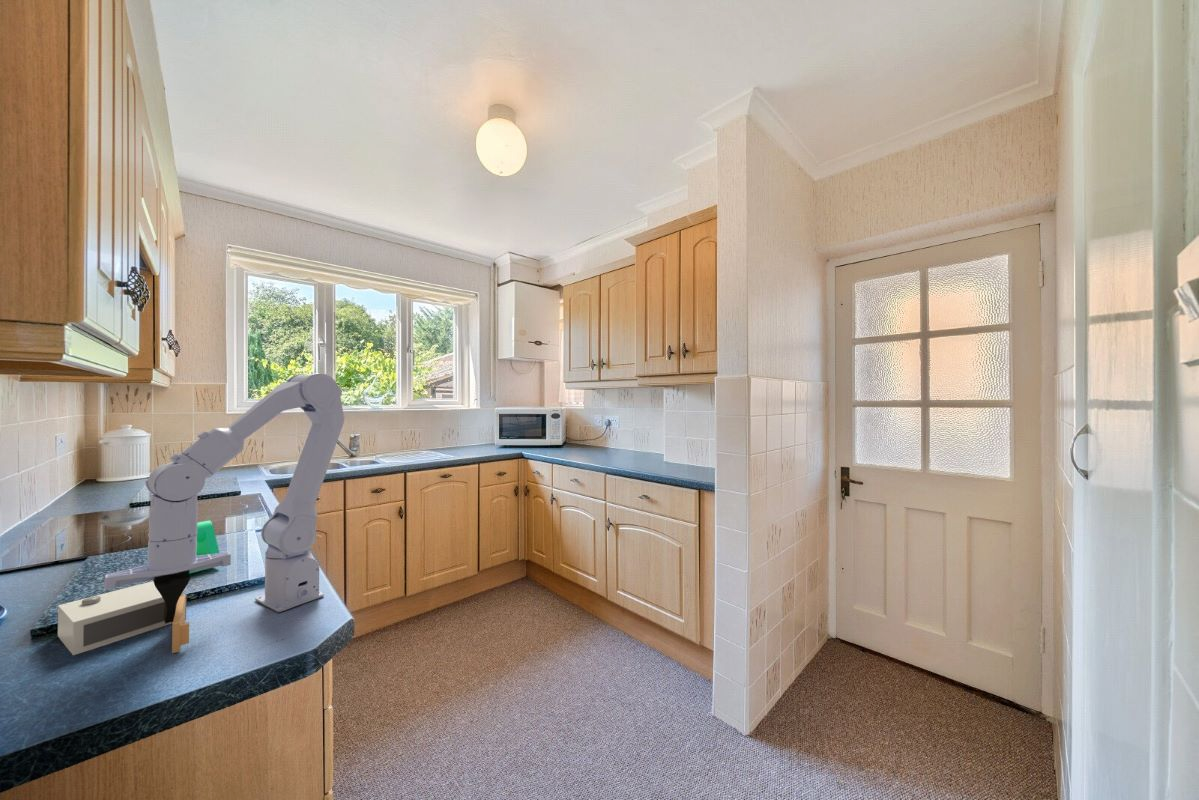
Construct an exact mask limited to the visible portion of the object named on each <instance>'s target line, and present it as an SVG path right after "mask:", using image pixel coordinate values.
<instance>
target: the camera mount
mask: <svg viewBox="0 0 1199 800" xmlns="http://www.w3.org/2000/svg"><path fill="white" fill-rule="evenodd" d="M217 553H220V549H219V545H218V541H217V537H216V534H215V528H214V525H213V523H212V521H211V520H205V521H204V520H203V521H200V522H199V521H197V550H196V556H199V555H208V554H217ZM205 570H206V569H203V570H198V571H193V572H189V574H193V573H197V572H200V571H205Z"/></svg>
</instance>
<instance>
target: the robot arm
mask: <svg viewBox="0 0 1199 800" xmlns="http://www.w3.org/2000/svg"><path fill="white" fill-rule="evenodd" d="M342 393H343V390H342V388H341V387H340V386H339V385H338V383H337V381H336V380H335V379H334V378H333V377H332V376H330V375H328V374H326V373H321V372H319V373H313V374H305V373H298V374H295V375H292V376H291V377H290V378H288V379H287V380H286V381H284V382H282V383H280V384H278V385H277V386H276V387H274V388H273V389H272V390H271V391H270V392H268V393H267V394H266V395H265V396H263V397H262V399H261V398H260V400H259V401H258V402H257V403H255V404H254V405H252V406H251V408H249V409H248V410H247V411H245V412H244V413H243V414H242V415H241V416H240V417H238V418H237V419H236V420H235V421H233V422H232V423H231V424H230V425H229V426H228V427H214V428H212V429H211V430H210V431H207V430H203V431H201V432H200V433H199V434H197V438H199V439H197V440H196V441H195V442H193V443H191V445H190V446H188V447H187V448H185V450H183V451H182V452H180V453H179V454H178V453H174V454H172V455H171V456H170V457H169V459H170V460H171V461H172V462H168V463H164V464H161V465H159V466H157V467H155V469H154V470H152V471H151V473H150V474H149V477H148V478H147V480H146V481H145V487H146V488H147V490H148V492H149V493H151V494H152V495H151V496H150V498H151V499H150V503H149V504H150V510H149V515H148V539H147V540H148V541H147V564H143V565H140V566H136V567H132V568H129V569H125V570H124V569H123V570H120V571H115V572H111V573H106V574H105V575H104V591H105V592H106V591H110V590H113V589H116V588H118V587H122V586H127V585H128V586H129V585H132V584H133V585H134V584H139V583H142V582H149V581H151V580H152V581H153V582H154V585H155V587H156V589H157V590H158V591H159V593H160V594H161V596H162V598H163V599H164V601H165V609H164V621H165V623H169V622H173V620H174V616H175V611H176V604H177V602H178V600H179V598H180V596H181V594H183V592H184V591H185V589H186V588H187V586H188V584H189V582H190V580H191V575H190V573H189V572H193V571H197V572H199V571H198V570H201V571H204V570H203V569H205V570H209V569H211V568H216V567H227V566H228V567H229V566H231V564H232V563H231V562H232V561H231V557H232V554H231V553H230V551H224V552H219V553H217V554H208V555H199V556H196V550H197V523H198V520H199V519H198V516H199V515H198V514H199V506H198V494H200V493H201V491H203V489H204V487H205V483H206V479H208V478H211V477H212V476H213V475H214V474H215V475H216V473H217V472H218V471H220V469H223V467H224V466H226V465H227V464H228V463H229V462H230V461H232V460H233V459H234V458H236V457H237V456H238V455H239V454H241V452H243V450H244V444H245V440H246V439H247V438H249V437H250V436H251V435H253V434H254V433H255V432H257V431H258V430H259V429H260V428H262V427H264V426H265V425H266V424H268V423H269V422H270V421H272V420H273V419H274V418H275V417H277V416H279V414H281V413H283V412H284V411H288V410H294V409H301V410H302V411H303V412H304V413H305V415H306V416H307V418H308V419H309V420H310V422H311V427H310V429H309V431H308V434H307V437H306V439H305V443H304V445H303V448H302V450H301V454H300V456H299V458H298V461H297V463H296V464H297V465H296V466H295V469H294V472H293V475H292V477H291V480H290V483H289V486H288V488H287V490H286V493H285V497H284V499H283V500H282V501H281V502H280V503H279V504H278V505H276V507H275V508H274V511H273V514H272V515H271V516H270V518H268V519H267V520H266V522H265V523H264V524H263V526H262V528H261V531H260V533H261V534H260V536H261V539H262V541H263V542H264V543H266V545H267V548H266V551H265V555H264V556H265V559H264V560H265V562H264V564H265V566H264V594H262V595H259V596H255V598H254V601H256V602H258V603H259V604H262V605H264V606H266V607H268V608H270V609H271V610H272V611H274V612H277V613H281V612H284V611H287V610H289V609H292V608H294V607H298V606H300V605H303V604H305V603H309V602H311V601H314V600H317V599H319V598H322V597H324V596H325V593H324V592H322V591H320V565H319V563H318V561H317V560H316V559H315V558H314V557H313V556H312V546H313V545H314V543H315V541H316V539H317V529H316V524H317V520H318V518H319V517H318V512H317V507H316V503H317V499H318V496H319V494H320V491H321V489H322V485H323V483H324V480H325V477H326V474H327V471H328V469H329V465H330V464H331V460H332V457H333V454H334V452H335V449H336V446H337V443H338V440H339V438H340V435H341V431H342V428H343V426H344V423H345V416H344V410H343V403H342V398H341V397H342ZM193 573H194V572H193Z"/></svg>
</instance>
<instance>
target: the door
mask: <svg viewBox="0 0 1199 800" xmlns="http://www.w3.org/2000/svg"><path fill="white" fill-rule="evenodd" d="M186 620H187V593H182V594H181V596H180V598H179V600H178V603H177V607H176V611H175V616H174V620H173V623H172V624H171V625H172V633H171V634H172V635H171V636H172V637H171V638H172V639H171V641H172V642H171V643H172V644H171V654H175V653H179V652H180V651H181V650H180V649H181V646H185V645H187V644H189V643H190V621H186Z"/></svg>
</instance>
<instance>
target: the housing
mask: <svg viewBox="0 0 1199 800" xmlns="http://www.w3.org/2000/svg"><path fill="white" fill-rule="evenodd" d="M177 603H178V602H177ZM176 607H177V604H176ZM164 609H165V601H164V599H163V598H162V596H161V594H160V593H159V591H158V590H157V589H156V587H155V585H154V582H153V580H152V581H147V582H145V583H140V584H136V585H133V586H129V587H124V588H119V589H117V590H113V591H110V592H104V593H102V594H97V595H94V596H90V597H89V596H88V597H85V598H82V599H78V600H74V601H70V602H66V603H62V604H58V606H57V637H58V638H59V640H60V641H61V642H62V644H64V646H65V648H66V649H67V651H69V652H70V653H71V654H72V656H75V655H79V654H82V653H85V652H86V653H87V652H88V651H91V650H95V649H97V648H101V647H104V646H106V645H110V644H112V643H113V644H114V643H116V642H119V641H122V640H125V639H128V638H132V637H135V636H137V635H140V634H141V635H142V634H143V633H147V632H150V631H153V630H156V629H158V628H162V627H165V626H168V625H172V624H173V622H169V623H165V621H164Z"/></svg>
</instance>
